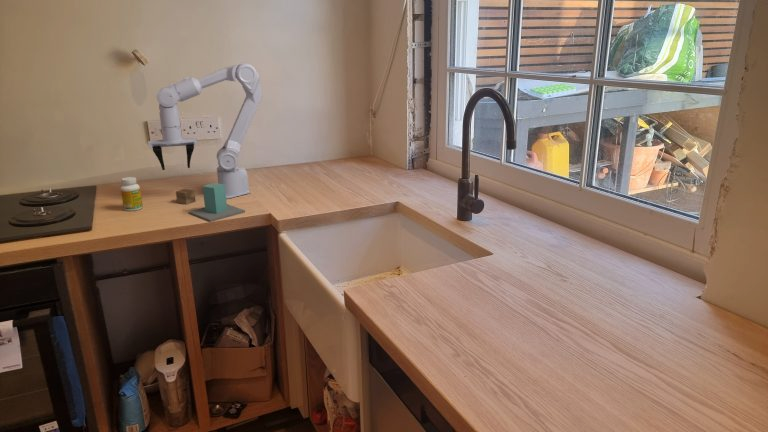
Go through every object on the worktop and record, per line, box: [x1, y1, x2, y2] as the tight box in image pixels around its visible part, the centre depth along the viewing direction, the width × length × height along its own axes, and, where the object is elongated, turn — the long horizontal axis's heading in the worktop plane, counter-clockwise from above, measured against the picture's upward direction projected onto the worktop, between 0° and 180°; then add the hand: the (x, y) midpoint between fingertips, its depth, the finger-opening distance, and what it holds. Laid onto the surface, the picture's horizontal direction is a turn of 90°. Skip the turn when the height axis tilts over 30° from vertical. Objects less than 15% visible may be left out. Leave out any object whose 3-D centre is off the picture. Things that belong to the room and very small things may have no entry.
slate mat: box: [188, 204, 246, 222], centre depth 158 cm, size 12×12×1 cm
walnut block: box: [175, 188, 197, 206], centre depth 168 cm, size 4×4×4 cm
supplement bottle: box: [120, 176, 143, 212], centre depth 161 cm, size 5×5×10 cm
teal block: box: [202, 182, 228, 214], centre depth 157 cm, size 4×4×8 cm
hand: (176, 168), depth 169 cm, fingers open, 7 cm apart
